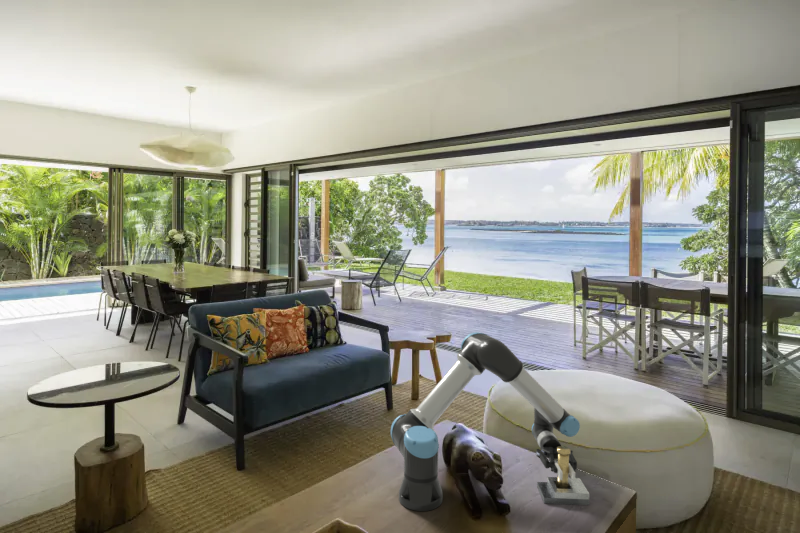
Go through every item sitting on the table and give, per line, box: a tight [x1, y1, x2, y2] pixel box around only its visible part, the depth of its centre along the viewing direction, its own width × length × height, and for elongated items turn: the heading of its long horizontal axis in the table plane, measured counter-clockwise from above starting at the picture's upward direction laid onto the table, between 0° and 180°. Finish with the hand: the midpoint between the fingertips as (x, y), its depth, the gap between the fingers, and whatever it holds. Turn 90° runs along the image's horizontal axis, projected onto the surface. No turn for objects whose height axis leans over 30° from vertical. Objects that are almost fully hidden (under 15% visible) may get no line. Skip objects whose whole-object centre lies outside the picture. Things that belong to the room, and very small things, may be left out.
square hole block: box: [536, 476, 590, 506], centre depth 161 cm, size 15×10×4 cm, turn 87°
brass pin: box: [556, 445, 571, 489], centre depth 161 cm, size 4×4×16 cm
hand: (567, 476), depth 155 cm, fingers closed on brass pin, 3 cm apart
